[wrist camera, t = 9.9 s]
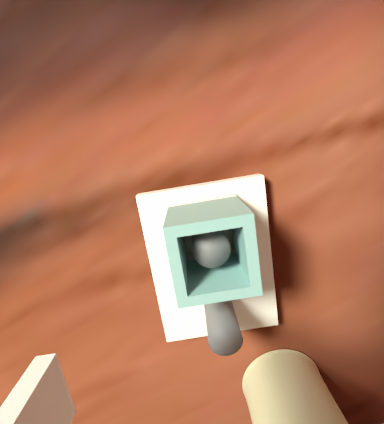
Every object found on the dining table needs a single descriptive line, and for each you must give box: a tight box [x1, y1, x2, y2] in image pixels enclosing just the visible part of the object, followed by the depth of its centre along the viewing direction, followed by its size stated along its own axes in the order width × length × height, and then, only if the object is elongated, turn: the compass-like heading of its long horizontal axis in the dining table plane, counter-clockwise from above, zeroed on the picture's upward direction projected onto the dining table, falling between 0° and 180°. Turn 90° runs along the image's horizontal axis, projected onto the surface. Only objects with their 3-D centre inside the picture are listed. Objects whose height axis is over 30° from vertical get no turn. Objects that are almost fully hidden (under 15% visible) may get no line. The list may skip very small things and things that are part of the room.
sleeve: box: [162, 192, 263, 309], centre depth 22 cm, size 6×6×8 cm
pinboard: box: [135, 174, 278, 356], centre depth 25 cm, size 16×12×8 cm
